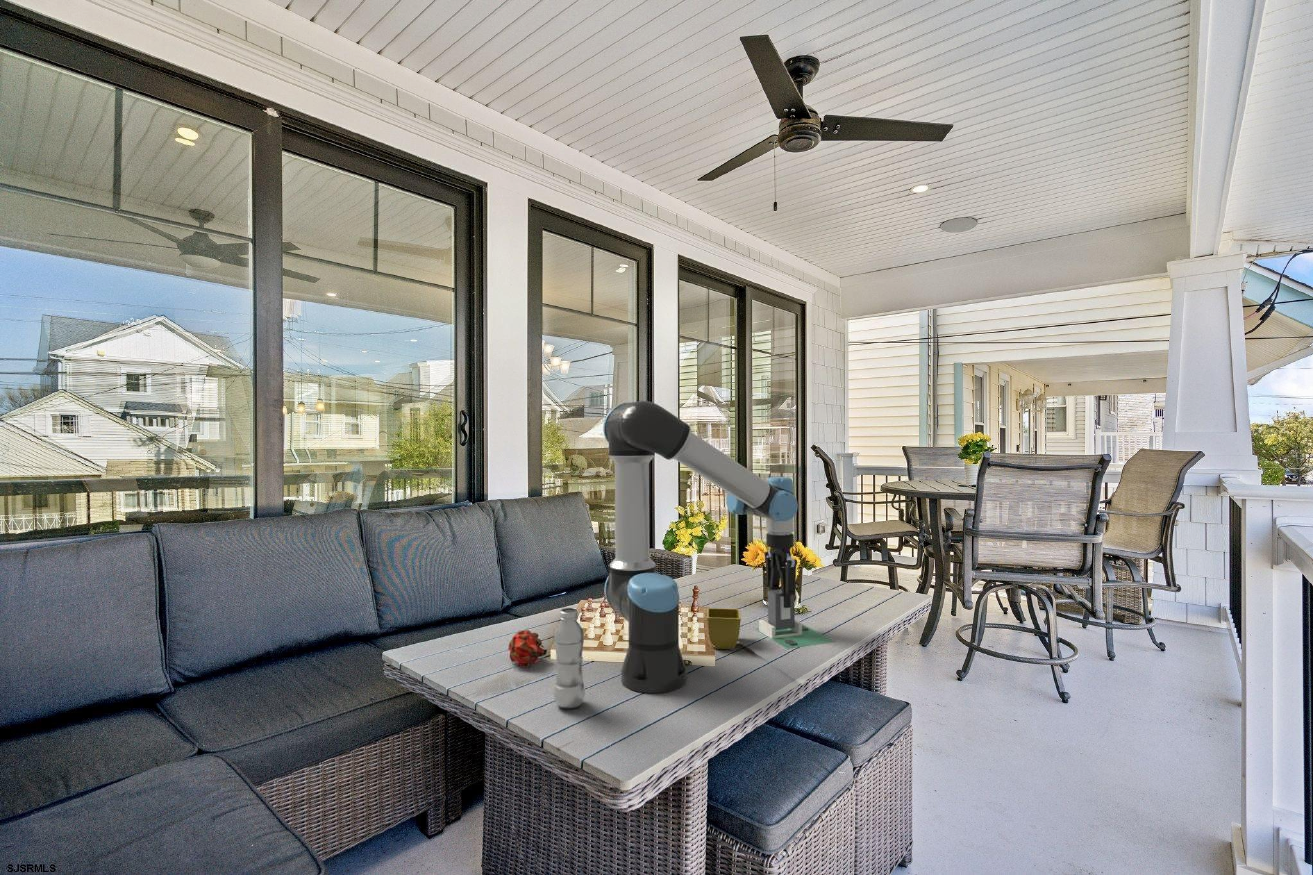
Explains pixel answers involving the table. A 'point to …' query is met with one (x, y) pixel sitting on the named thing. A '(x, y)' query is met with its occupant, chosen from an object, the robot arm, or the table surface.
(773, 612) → the plug
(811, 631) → the board
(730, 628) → the flower pot
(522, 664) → the dragon fruit
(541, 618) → the table surface
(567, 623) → the plastic bottle
